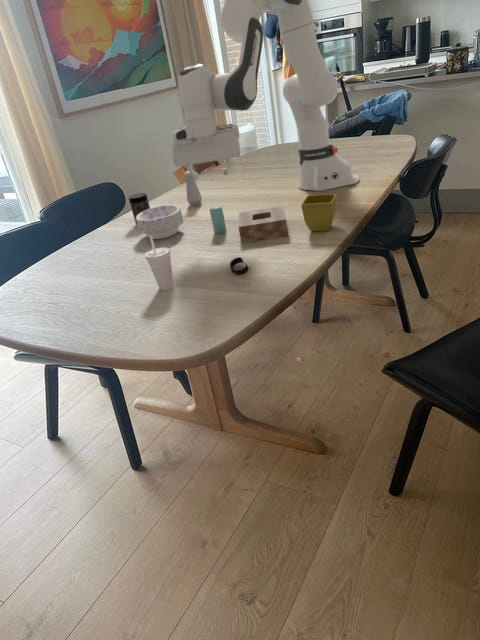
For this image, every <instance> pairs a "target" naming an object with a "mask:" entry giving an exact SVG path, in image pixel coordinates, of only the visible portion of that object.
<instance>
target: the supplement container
mask: <svg viewBox="0 0 480 640" xmlns="http://www.w3.org/2000/svg"><path fill="white" fill-rule="evenodd" d="M127 198H128V202H129V204H130V210H131V212H132V215H133V219H134V223H135V225H136V226H138V225H137V222H136V216H137V215H138V214H139V213H141V212H143V211H145V210H147V209H150V208H151V206H150V202H149V199H148V194H147V193H146V192H138V193H133V194H132V195H129V196H128V197H127Z"/></svg>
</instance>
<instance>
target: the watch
mask: <svg viewBox="0 0 480 640" xmlns="http://www.w3.org/2000/svg"><path fill="white" fill-rule="evenodd" d="M241 263H242V264H243V265H244V267H243V268H241V269H234V267H235V266H236V265H237V264H241ZM229 267H230V270H231V272H232V273H233V274H234V275H237V276H243V275H245V274H247V273H248V272H249V268H250V265H249V263H248V262H247V260H246V258H245V257H244V256H241V257H239V256H238V257H235V258H233V259H232V260H231V261H230V263H229Z"/></svg>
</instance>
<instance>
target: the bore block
mask: <svg viewBox="0 0 480 640" xmlns="http://www.w3.org/2000/svg"><path fill="white" fill-rule="evenodd" d="M286 216H287V215H286V212H285V207H284V205H280V206H273V207H267V208H261V209H254V210H249V211H242V212H239V213H238V226H237V227H238V231H239V239H240V243H241V244H243V243H251V242H257V241H263V240H269V239H277V238H283V237H289V232H288V231H289V230H288V225H287V224H288V223H287V217H286Z"/></svg>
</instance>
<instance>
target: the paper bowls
mask: <svg viewBox="0 0 480 640" xmlns="http://www.w3.org/2000/svg"><path fill="white" fill-rule="evenodd" d="M136 222H137V225H136V226H137V228H138V231H139V233H140V234H143V235H146V236H147V237H148V238H149V239H150V237H149V236H152V239H153V240H162V239H167V238H169V237H172V236H174V235H175V234H177V233H178V232H179V228H180V226H181V225H182V224H183V223H184V217H183V212H182V208H181V207H180V206H179V205H176V204H165V205H159V206H155V207H150V209H147V210H145V211H143V212H141V213H139V214H138V215H137V216H136Z"/></svg>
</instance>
